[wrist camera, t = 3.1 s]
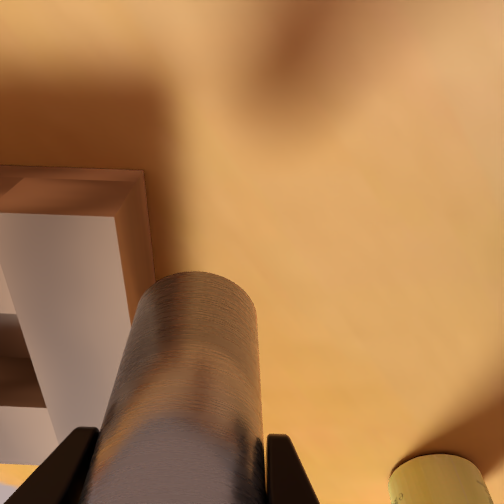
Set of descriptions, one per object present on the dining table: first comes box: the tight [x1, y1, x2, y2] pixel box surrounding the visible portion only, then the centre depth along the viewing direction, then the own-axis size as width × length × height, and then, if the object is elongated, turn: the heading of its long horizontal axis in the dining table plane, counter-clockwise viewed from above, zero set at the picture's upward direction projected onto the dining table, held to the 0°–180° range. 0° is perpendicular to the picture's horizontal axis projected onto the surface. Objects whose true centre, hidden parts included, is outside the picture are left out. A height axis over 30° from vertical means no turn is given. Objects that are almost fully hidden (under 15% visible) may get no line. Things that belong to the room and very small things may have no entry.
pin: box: [78, 271, 267, 504], centre depth 9 cm, size 3×3×8 cm
